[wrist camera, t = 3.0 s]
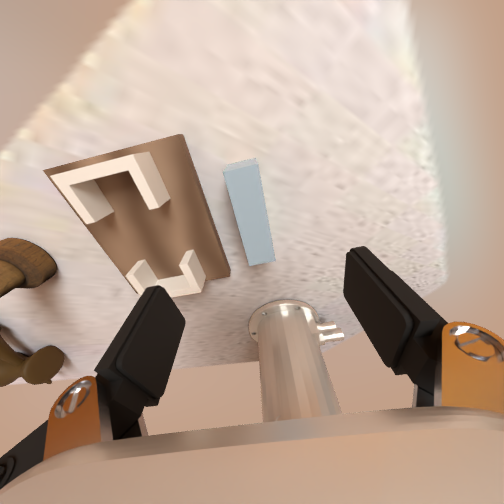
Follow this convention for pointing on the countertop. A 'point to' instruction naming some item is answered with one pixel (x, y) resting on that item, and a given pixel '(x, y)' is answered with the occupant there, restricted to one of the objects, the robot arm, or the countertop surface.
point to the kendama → (29, 364)
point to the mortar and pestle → (23, 265)
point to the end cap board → (155, 214)
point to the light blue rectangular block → (250, 210)
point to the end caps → (97, 207)
